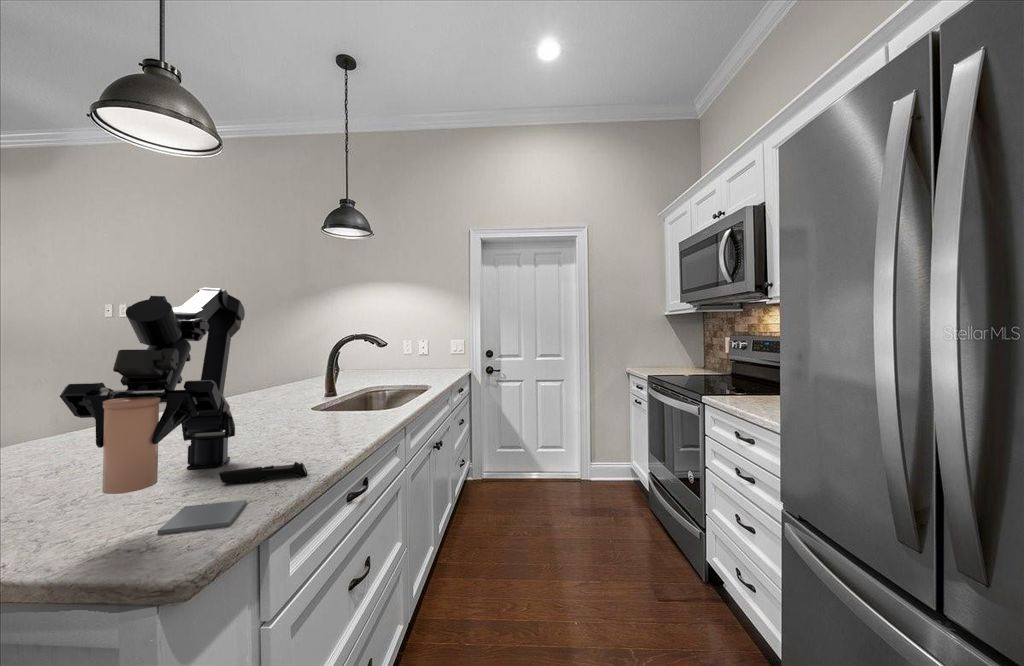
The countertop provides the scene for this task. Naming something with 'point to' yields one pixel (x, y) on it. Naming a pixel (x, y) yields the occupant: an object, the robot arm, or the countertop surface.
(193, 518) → the coaster
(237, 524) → the countertop surface
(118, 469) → the tumbler
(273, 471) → the electric trimmer
